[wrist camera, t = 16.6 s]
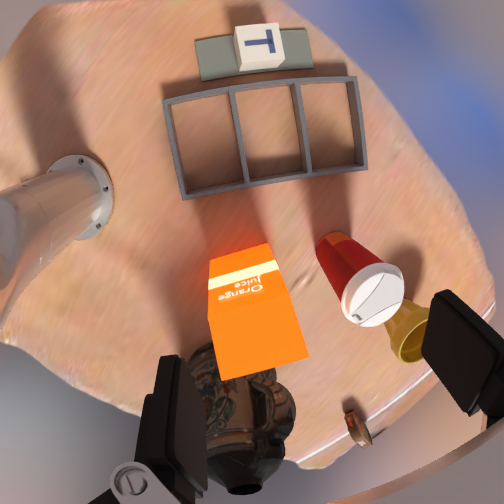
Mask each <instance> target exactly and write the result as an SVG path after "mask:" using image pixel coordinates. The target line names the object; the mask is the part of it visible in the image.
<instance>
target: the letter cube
mask: <svg viewBox="0 0 504 504" xmlns="http://www.w3.org/2000/svg"><path fill="white" fill-rule="evenodd" d="M233 41H234V46H235V52H236V58H237V63H238V69H239V72H241V71H249V70H257V69H267V68H277V67H278V66H279V65H280V64H281V63H282V62H283V61H284V60H285V55H284V50H283V45H282V40H281V35H280V30H279V25H278V23H267V24H254V25H244V26H235V31H234V36H233Z"/></svg>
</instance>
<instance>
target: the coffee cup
mask: <svg viewBox="0 0 504 504" xmlns="http://www.w3.org/2000/svg"><path fill="white" fill-rule="evenodd" d="M316 255H317V259H318V261H319V263H320V265H321V267H322V269H323V271H324V273H325V274H326V276H327V278H328V280H329V282H330V283H331V285H332V287H333V289H334V291H335V292H336V294H337V296H338V298H339V300H340V302H341V306H342V311H343V313H344V315H345V316H346V318H347V319H349V320H350V321H352V322H354V323H357V324H358V325H361V326H365V327H372V326H376V325H379V324H381V323H383V322H385V321H387V320H388V319H389V318H391V317H392V316H393V315H394V314H395V313H396V311H397V310H398V309H399V307H400V305H401V303H402V300H403V296H404V280H403V276H402V273H401V271H400V270H399V268H398V267H396V266H395V265H392V264H388V263H385V262H383V261H382V260H381V259H379V258H378V257H377V256H375V255H374V254H373V253H371V252H370V251H369V250H367V249H366V248H364V247H363V246H362V245H360V244H359V243H358V242H356V241H355V240H353V239H352V238H350V237H349V236H347V235H346V234H344V233H341V232H331V233H329V234H327V235H325V236H324V237H323V238H322V239H321V240H320V241H319V243H318V245H317V249H316Z"/></svg>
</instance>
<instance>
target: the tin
mask: <svg viewBox="0 0 504 504" xmlns="http://www.w3.org/2000/svg"><path fill="white" fill-rule="evenodd" d="M345 420H346V423H347V426H348V431H349V433H350V435H351V437H352V439H353V440H354V441H355V442H356V443H357V444H358V445H360V446H361V447H362V448H366V447H368V446H370V445H372V439H371V436H370V433H369V431H368V429H367V427H366V425H365V423H364V421H363V420H362V419H361V418H360V417H359V415H358V414H357V413H356V412H355V411H352V412H350V413H348V414H346V415H345Z"/></svg>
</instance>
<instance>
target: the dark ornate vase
mask: <svg viewBox="0 0 504 504" xmlns="http://www.w3.org/2000/svg"><path fill="white" fill-rule="evenodd" d="M187 367H188V369H189V371H190V373H191V376H192V378H193V380H194V382H195V385H196V387H197V389H198V391H199V393H200V395H201V398H202V400H203V402H204V404H205V408H206V444H207V477H208V478H210V479H212V480H214V481H215V482H217V483H219V484H221V485H222V486H224V487H226V489H227V491H228V493H231V494H234V495H248V494H254V493H256V492H258V491H260V490H261V489H262V486H263V482H264V481H265V480H267V479H268V478H269V477H270V476H271V475H272V474H273V473H275V472H276V471H277V470H278V468H279V466H280V465H281V464H282V462H283V458H284V456H285V446H284V441H285V439H286V438H287V437H288V436H289V434H290V433H291V431H292V429H293V426H294V421H295V417H296V407H295V402H294V399H293V397H292V395H291V393H290V392H289V391H288V390H287V389H286V388H285V387H284V386H283V385H281V384H280V383H278V382H276V379H277V377H276V370H275V368H270V369H267V370H263V371H259V372H256V373H252V374H248V375H244V376H240V377H236V378H232V379H227V380H223V381H222V380H221V376H220V371H219V367H218V362H217V358H216V353H215V349H214V344H213V342H210V343H208V344H206V345H204V346H203V347H201V348H199V349H198V350H197V351H196V352H195V353H194V354H193V355H192V357H191V359H190V361H189V364H188V366H187Z"/></svg>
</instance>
